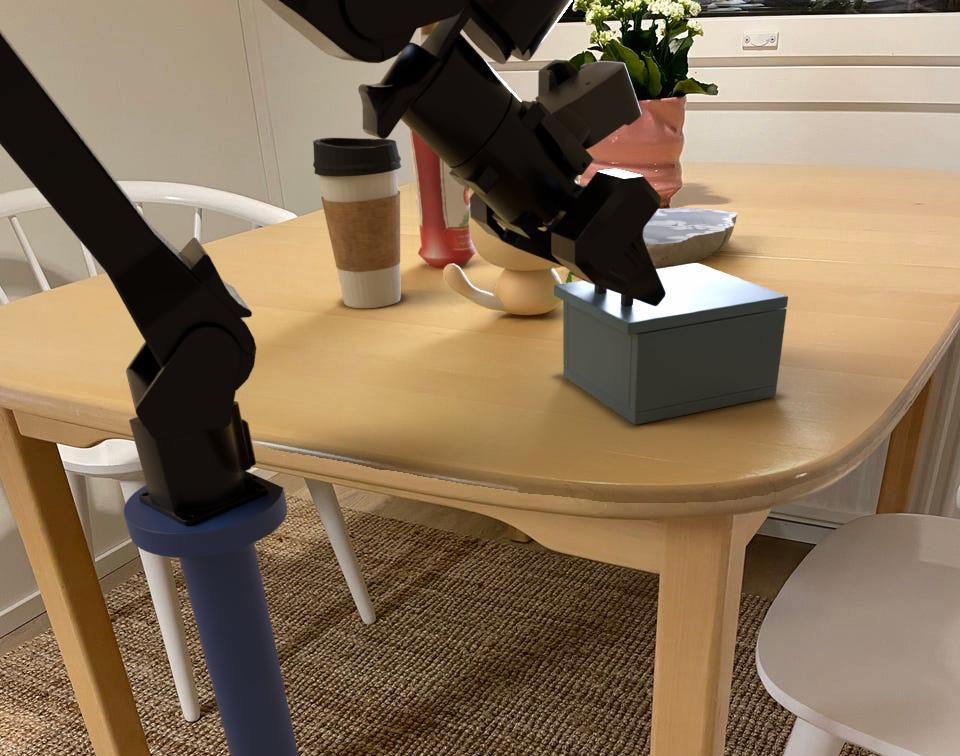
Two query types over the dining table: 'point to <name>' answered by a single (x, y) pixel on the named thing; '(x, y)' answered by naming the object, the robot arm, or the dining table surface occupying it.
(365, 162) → the coffee cup
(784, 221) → the dining table surface
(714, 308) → the lid
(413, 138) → the liquor
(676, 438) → the dining table surface
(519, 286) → the beige cat figurine
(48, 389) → the dining table surface
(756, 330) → the cooler
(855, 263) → the dining table surface
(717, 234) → the grey flat stone slab
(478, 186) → the robot arm
